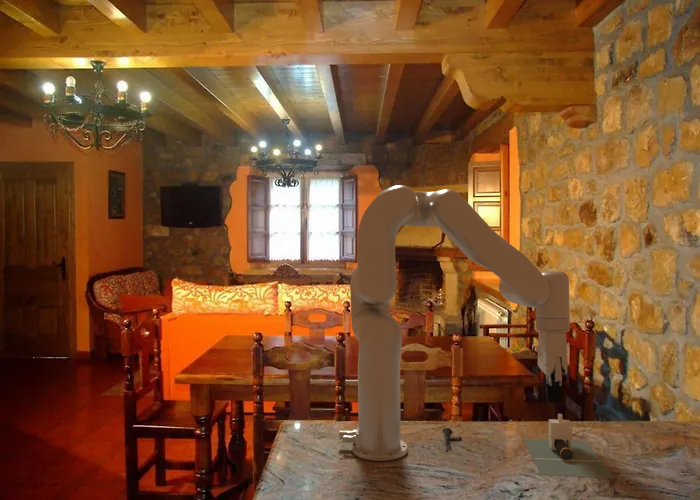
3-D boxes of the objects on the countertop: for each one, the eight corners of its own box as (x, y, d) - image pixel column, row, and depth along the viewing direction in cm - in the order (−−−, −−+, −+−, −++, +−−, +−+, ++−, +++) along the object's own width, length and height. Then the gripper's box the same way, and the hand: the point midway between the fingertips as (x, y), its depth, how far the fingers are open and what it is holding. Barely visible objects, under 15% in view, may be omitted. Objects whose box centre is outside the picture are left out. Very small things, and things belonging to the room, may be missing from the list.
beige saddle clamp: (551, 449, 124) (551, 415, 123) (548, 445, 126) (548, 412, 126) (571, 450, 123) (571, 416, 123) (568, 446, 125) (569, 412, 125)
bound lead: (560, 460, 119) (560, 448, 119) (550, 442, 129) (550, 432, 129) (573, 460, 118) (573, 449, 118) (561, 443, 128) (561, 432, 128)
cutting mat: (540, 478, 111) (540, 474, 111) (522, 441, 131) (522, 438, 131) (614, 482, 110) (614, 477, 110) (585, 444, 130) (585, 440, 130)
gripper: (530, 319, 140) (531, 392, 140) (542, 329, 125) (544, 411, 125) (561, 318, 139) (562, 392, 139) (578, 329, 124) (579, 411, 124)
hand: (554, 401), depth 132 cm, fingers closed
